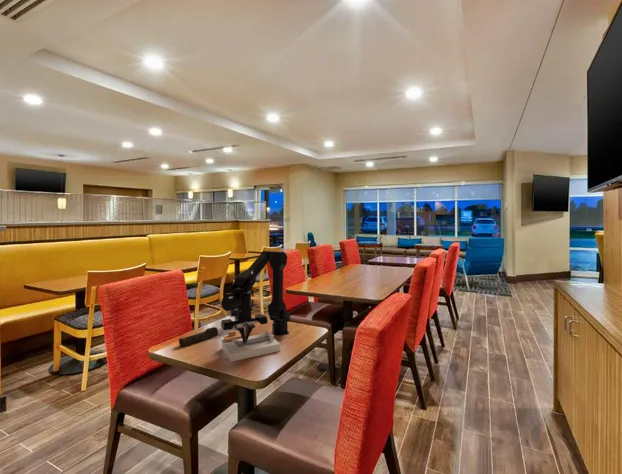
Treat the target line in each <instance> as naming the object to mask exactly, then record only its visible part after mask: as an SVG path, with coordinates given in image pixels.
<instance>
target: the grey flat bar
mask: <svg viewBox="0 0 622 474" xmlns="http://www.w3.org/2000/svg"><path fill="white" fill-rule="evenodd" d="M264 341H269V336H264V337H259V338H254V339H249V340H247V342H243V341H238V342H235V344H236V345H237V347H239V346H244V345H249V344H254V343H259V342H264Z"/></svg>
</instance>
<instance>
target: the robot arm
mask: <svg viewBox="0 0 622 474" xmlns="http://www.w3.org/2000/svg"><path fill="white" fill-rule="evenodd" d="M268 263H269V266H270V268H271V269H272V290H271V291H272V297H271V298H272V300H271V302H270V303H267V313H268V316H269V320H270V321H272V324H271V327H272V329H271V332H272V334H273V335H274V336H275V335H276V336H282V335H287V334H290V331H289V330H288V323H289V321H290V320H291V314H289V312H288V311H287V305H286V303H285V301H284V297H283V296H284V269H285V267H286V266H287V263H288V255H287V253H286V252H285V251H277V250H275V251H274V250H273V251H271V250H263V251H261V252H260V253H259V256H258V257H257V258H256V259H255V260H254V262H253V263H251V265H250V266H249V267H248V268H247V269H246V270H244V271H242V272H240V273H239V274H238V275H237V276H235V278H234V280H233V283H232V285H231V286H230V289H229V292H227V293H225V294H224V296H223V297H222V299H221V302H220V305H221V308H222V309H223V310H224V311H225V312H229V316H230V318H229V319H228V318H227V319H221V321H220V327H221V329H222V330H223V331H231V330H232V329H233V328H235V330H237V331H238V332H239V333H240V334H241V337H242V340H243V342H247V340H248V338H249V336H251V333H252V331H253V330H254V328H256V325H255V324H256V323H259V324H260V325H266V324H267V325H268V322H269V321H268V317H267V316H266V315H265V314H263V313H262V314H261V313H260V314H256V315H254V317H252V312H253V308H252V295H253V294H254V293H255V291H254V290H253V287H254V285H255V284H256V281H257V276H258V275H259V274H261V272H262V270H263V269H264V268H265V267H266V266H267V265H268ZM236 308H237V310H236V311H235V309H236ZM233 317H234V320H232V319H231V318H233ZM235 319H238V320H237V321H235ZM240 322H241V323H240ZM243 324H245V326H243Z"/></svg>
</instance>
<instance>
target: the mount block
mask: <svg viewBox="0 0 622 474" xmlns="http://www.w3.org/2000/svg"><path fill="white" fill-rule="evenodd" d="M264 336H269V341H264V342H259V343H254V344H249V345H244V346H239V347H237V345H236V344H235V342H238V341H243V340H242V338H241V339H236V340H231V341H225V340H224V338H223V339H221V343H220V344H221V350H222V351H223V353H224V355H225V356H226V357H227V358H228V360H229V361H230V362H236V361H240V360H246V359H248V358H254V357H258V356H264V355H266V354H271V353H272V354H273V353H275V352H280V351H281V343H280V342H279V341H278V340H277V339H276V338H274V337H275V334H274V333H272V334H270V331H269V330H264V333H260V334H255V335H249V338H248V340H249V339H254V338H259V337H264Z"/></svg>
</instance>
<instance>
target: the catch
mask: <svg viewBox="0 0 622 474" xmlns="http://www.w3.org/2000/svg"><path fill="white" fill-rule="evenodd" d="M241 338H242V337H241V334H240V332H239V333H237V331H236V329H235V330H234V329H233V330H232V329H231V330H227V335H224V336H223V339H224V340H225V341H231V340H236V339H241Z"/></svg>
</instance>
